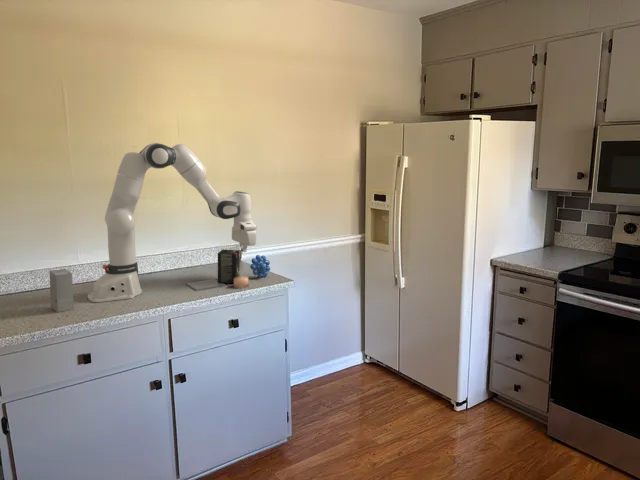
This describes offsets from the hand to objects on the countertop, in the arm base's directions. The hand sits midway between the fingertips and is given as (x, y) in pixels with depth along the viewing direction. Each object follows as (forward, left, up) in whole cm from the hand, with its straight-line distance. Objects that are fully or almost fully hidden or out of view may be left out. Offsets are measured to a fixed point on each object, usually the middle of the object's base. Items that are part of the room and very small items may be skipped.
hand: (243, 251), depth 241 cm
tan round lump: (-7, -11, -14) cm, 19 cm away
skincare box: (-81, +1, -14) cm, 83 cm away
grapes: (+8, -4, -14) cm, 16 cm away
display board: (-20, 0, -14) cm, 25 cm away
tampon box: (-9, 0, -14) cm, 16 cm away
